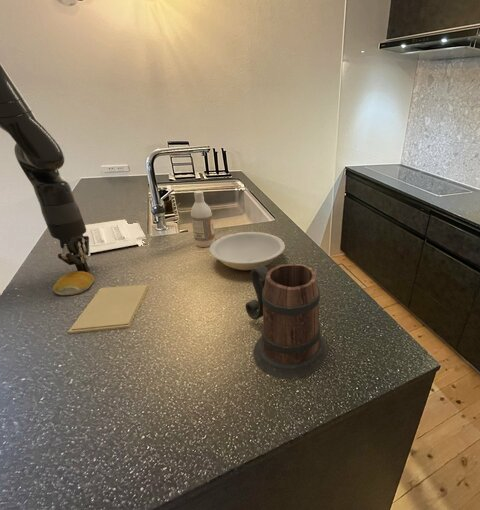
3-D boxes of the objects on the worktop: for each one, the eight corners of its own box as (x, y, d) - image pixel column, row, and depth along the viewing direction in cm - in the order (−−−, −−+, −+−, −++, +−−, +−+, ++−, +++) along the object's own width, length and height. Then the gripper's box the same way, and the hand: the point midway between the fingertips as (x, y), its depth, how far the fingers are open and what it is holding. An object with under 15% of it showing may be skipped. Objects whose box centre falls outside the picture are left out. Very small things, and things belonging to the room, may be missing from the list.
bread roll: (97, 277, 90) (94, 265, 88) (87, 294, 83) (83, 281, 81) (63, 280, 87) (58, 268, 85) (49, 298, 80) (43, 285, 78)
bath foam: (213, 247, 112) (207, 194, 103) (193, 247, 111) (185, 194, 102) (216, 239, 119) (210, 189, 110) (197, 239, 117) (190, 188, 108)
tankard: (342, 347, 72) (349, 274, 63) (290, 393, 60) (290, 311, 51) (275, 305, 84) (273, 240, 75) (220, 336, 72) (210, 263, 63)
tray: (78, 258, 99) (74, 247, 97) (74, 231, 118) (70, 222, 116) (149, 244, 111) (147, 235, 109) (135, 222, 130) (133, 214, 128)
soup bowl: (267, 243, 119) (266, 227, 116) (297, 270, 103) (297, 252, 100) (202, 256, 106) (200, 239, 103) (225, 289, 89) (223, 270, 86)
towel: (68, 334, 69) (67, 330, 69) (100, 290, 85) (99, 287, 84) (128, 327, 72) (128, 324, 72) (149, 286, 88) (148, 283, 87)
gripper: (59, 209, 86) (79, 263, 94) (32, 228, 75) (57, 286, 83) (90, 209, 88) (107, 261, 96) (68, 226, 77) (90, 284, 85)
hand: (84, 273), depth 90 cm, fingers closed
